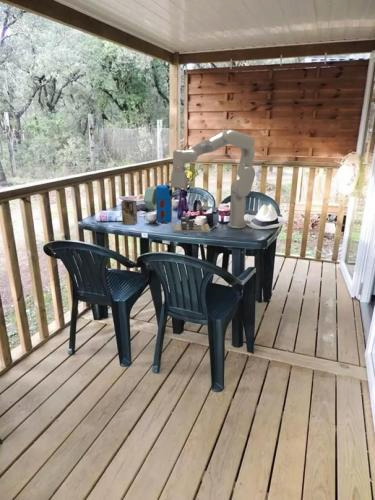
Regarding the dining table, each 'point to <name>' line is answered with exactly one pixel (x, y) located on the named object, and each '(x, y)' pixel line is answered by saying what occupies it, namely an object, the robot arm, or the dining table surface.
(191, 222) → the breaker mid
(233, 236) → the dining table surface
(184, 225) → the breaker
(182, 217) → the breaker
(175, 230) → the panel
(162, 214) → the blue tall box
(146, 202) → the planter
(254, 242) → the dining table surface
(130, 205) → the coffee box
